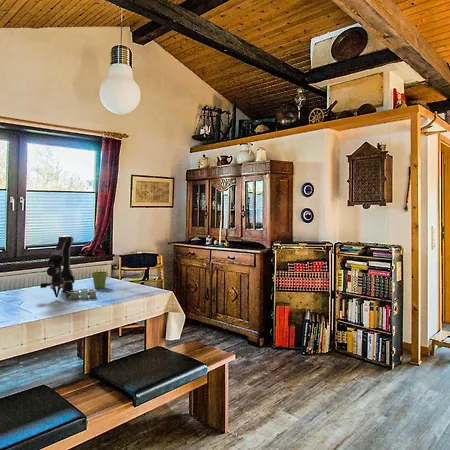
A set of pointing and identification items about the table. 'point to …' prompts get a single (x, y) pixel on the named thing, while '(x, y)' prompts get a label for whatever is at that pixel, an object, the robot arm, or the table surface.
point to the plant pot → (99, 279)
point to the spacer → (83, 293)
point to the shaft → (70, 294)
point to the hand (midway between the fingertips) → (56, 297)
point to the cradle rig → (76, 294)
